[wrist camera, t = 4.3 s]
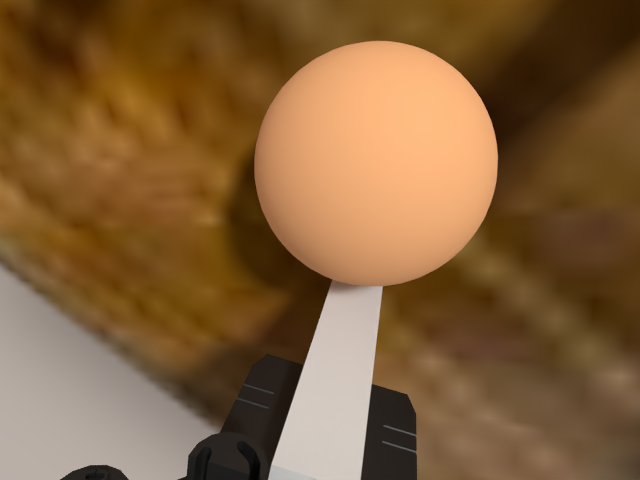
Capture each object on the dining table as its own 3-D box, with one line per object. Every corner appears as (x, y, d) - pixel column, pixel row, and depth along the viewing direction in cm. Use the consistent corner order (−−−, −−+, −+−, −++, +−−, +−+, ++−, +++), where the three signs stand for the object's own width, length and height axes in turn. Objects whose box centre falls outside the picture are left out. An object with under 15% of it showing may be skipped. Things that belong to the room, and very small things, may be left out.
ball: (439, 328, 12) (469, 155, 13) (529, 280, 6) (560, 4, 8) (246, 278, 12) (299, 118, 14) (184, 196, 7) (281, -44, 9)
